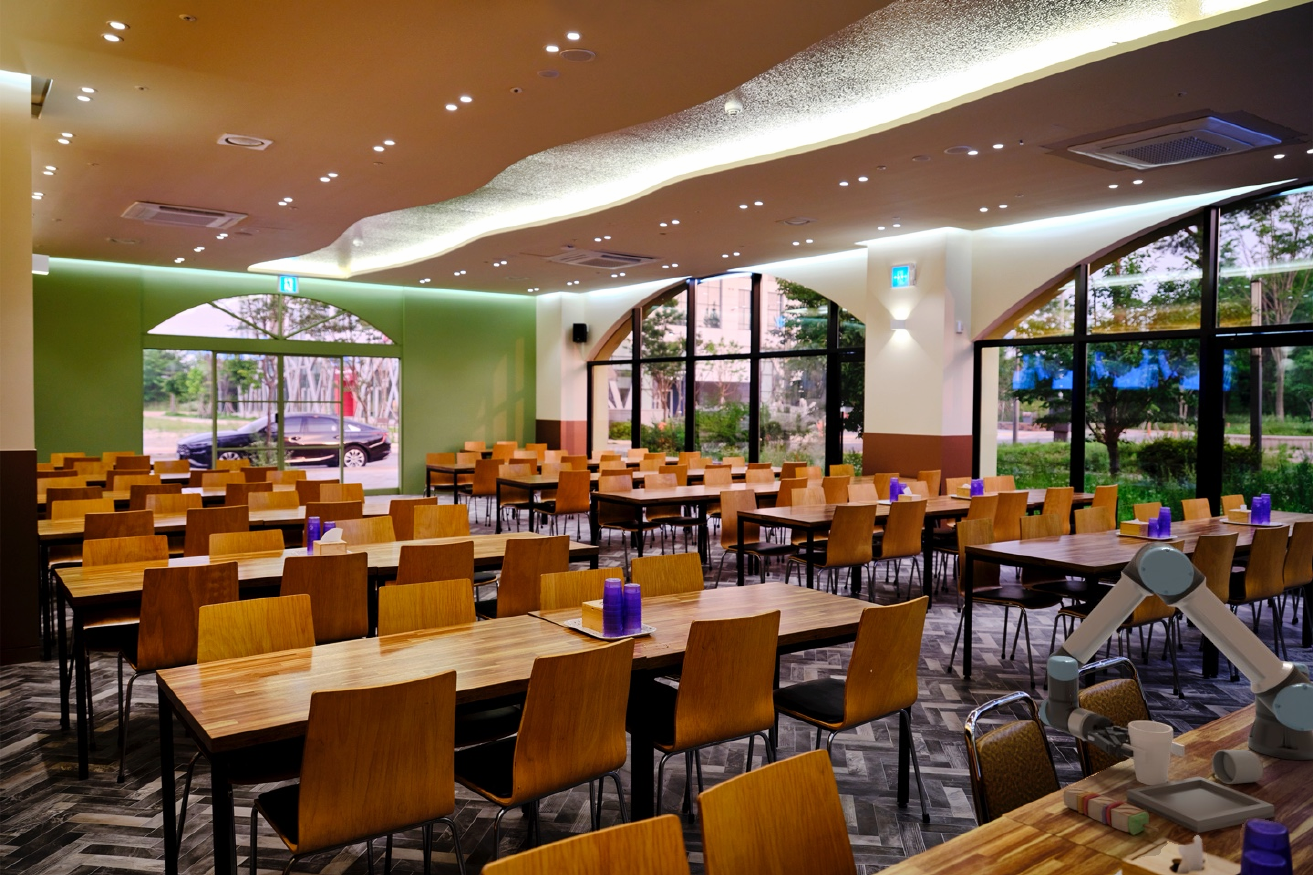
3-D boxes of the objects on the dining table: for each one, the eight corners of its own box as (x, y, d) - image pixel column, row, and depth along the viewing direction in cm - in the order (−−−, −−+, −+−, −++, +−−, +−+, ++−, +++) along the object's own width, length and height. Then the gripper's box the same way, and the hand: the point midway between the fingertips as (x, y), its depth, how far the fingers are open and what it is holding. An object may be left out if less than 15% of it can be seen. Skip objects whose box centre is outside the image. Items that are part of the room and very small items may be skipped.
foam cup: (1174, 777, 218) (1173, 723, 218) (1174, 790, 210) (1172, 734, 210) (1130, 771, 223) (1129, 718, 223) (1128, 783, 215) (1126, 729, 215)
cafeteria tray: (1199, 786, 212) (1199, 776, 212) (1274, 816, 195) (1273, 804, 195) (1126, 800, 205) (1126, 789, 205) (1197, 832, 188) (1197, 820, 188)
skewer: (1059, 809, 202) (1059, 787, 202) (1079, 803, 204) (1078, 781, 204) (1147, 845, 183) (1147, 821, 183) (1167, 838, 186) (1167, 814, 186)
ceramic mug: (1267, 785, 212) (1266, 752, 212) (1236, 788, 210) (1235, 755, 211) (1230, 770, 222) (1229, 739, 222) (1201, 773, 221) (1200, 741, 221)
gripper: (1127, 736, 237) (1202, 764, 216) (1056, 747, 230) (1127, 777, 209) (1126, 707, 237) (1201, 732, 216) (1055, 718, 230) (1126, 745, 209)
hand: (1165, 754), depth 213 cm, fingers open, 11 cm apart
